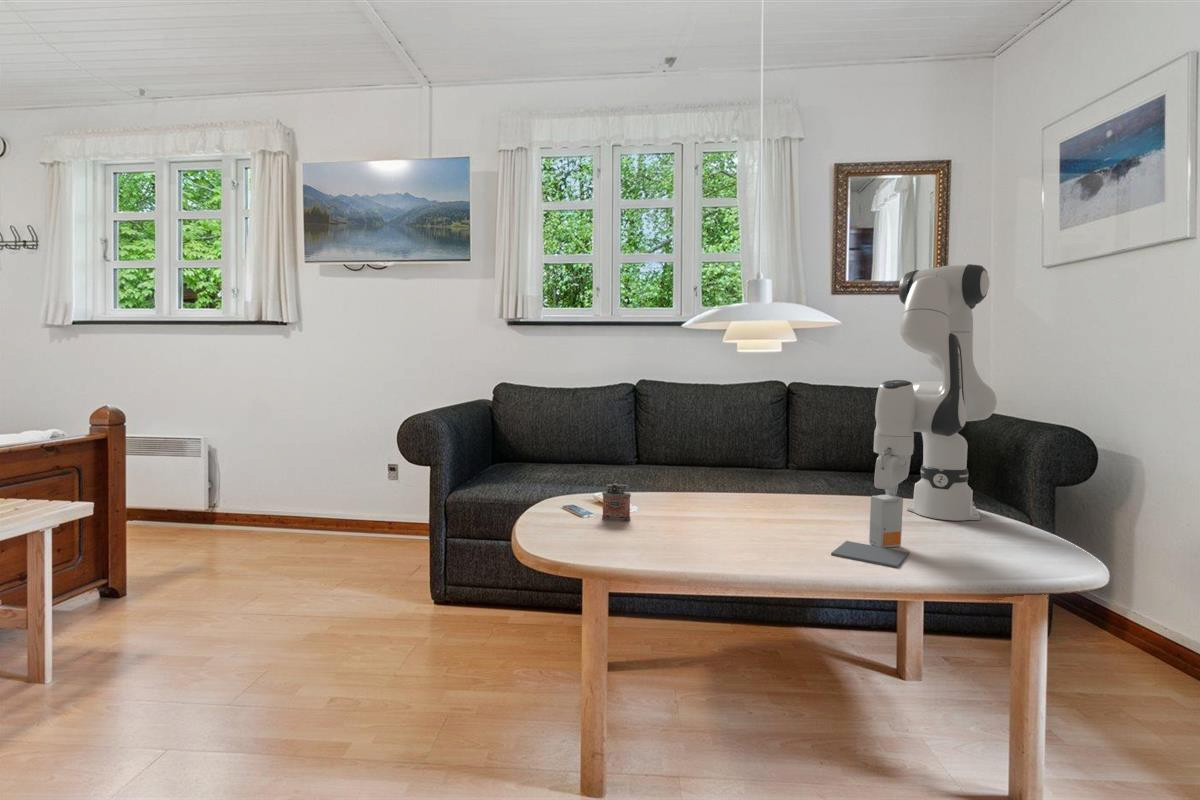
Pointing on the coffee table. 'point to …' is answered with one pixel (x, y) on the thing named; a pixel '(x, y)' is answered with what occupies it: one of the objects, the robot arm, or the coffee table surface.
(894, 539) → the skincare box
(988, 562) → the coffee table surface
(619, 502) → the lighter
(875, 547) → the mat
